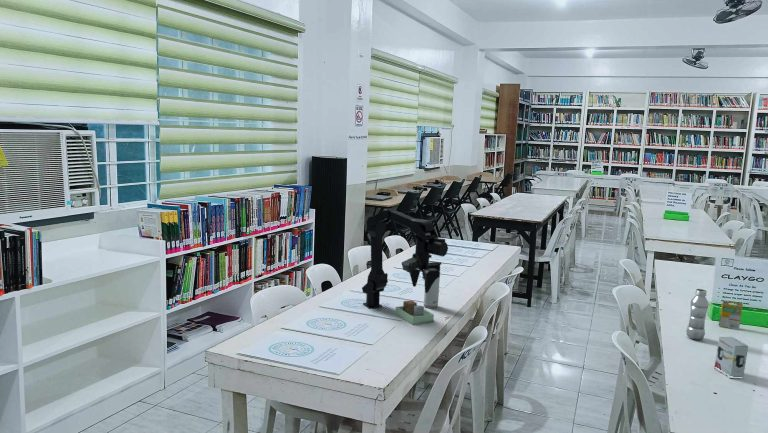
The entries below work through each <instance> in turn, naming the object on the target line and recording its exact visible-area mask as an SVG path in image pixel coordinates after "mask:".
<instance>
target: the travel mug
mask: <svg viewBox="0 0 768 433" xmlns="http://www.w3.org/2000/svg"><path fill="white" fill-rule="evenodd" d="M429 265H431V268H434V269H437V270H439V271H440V272H441V265H442V262H441V261H440V262H439V261H432V262H430V261H429ZM428 269H430V268H428ZM440 278H441V276H440V277H438V279H436V280H435V281H434V283H433V284H432V286H431V288H430V290H429V291H428V293H425V292H424V294H423V295H424V297H423V307H424V308H426V309H433V310H434V309H437V308H439V298H440V297H439V296H440V295H439V293H440Z"/></svg>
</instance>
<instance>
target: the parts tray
mask: <svg viewBox="0 0 768 433" xmlns="http://www.w3.org/2000/svg"><path fill="white" fill-rule="evenodd" d="M417 306H419V305H418V304H417ZM394 308H395V309H394V310H395V312H394V315H396V314H397V316H398V315H399V316H400V318H401V317H402V319H403V320H404V321H405V322H408V323H409V324H411V325H418V324H419V325H420V324H425V323H426V324H427V323H431V322H434V317H435V314H434V313H432V312H431V311H429V310H427V309H425V308H424V315H422V316H415V317H413V316H414V315H410V314H408V313H406V312H405V311H403V305H401V306H400V305H399V306H395V307H394ZM399 316H398V317H399Z"/></svg>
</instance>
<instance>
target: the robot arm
mask: <svg viewBox="0 0 768 433" xmlns="http://www.w3.org/2000/svg"><path fill="white" fill-rule="evenodd" d="M391 221H392V222H394V223H396V224H399V225H402V226H403V227H406V228H408V229H409V230H410V231H411V232H412V233H413V234H414V235H413V236H412V237H411V240H414V241H415V251H414V252H415V253H413V254H412V257H410V258H408V259H406V260H404V261H402V262H401V267H402V271H404V272H405V271H406V272H407V273H409V276H410V280H411V284H412V287H416V286H417V284H418V280H419V276H420V273H421V274H422V276H421V277H422V279H423V281H424V293H428V291H429V290H430V288H431V286H432V284H433V283H434V281H435V280H436V279H438V277H440V278H441V270H440V271H439V270H437V269H434V268H431V265H429V263H430V259H431V258H432V255H434V256H439V257H445V256H446V255H447V253H448V250H449V247H448V243H447V242H446V238H440V237H439V236H438V234H437V231H436V229H435V227H434V224H433V222H432V221H431V220H428V219H424V218H423V219H421V218H415V217H413V216H410V215H407V214H405V213H403V212H400V211H398V210H396V209H394V208H385V209H384V210H382V211H380V212H379V213H376V214H374V215H372V216H368V218H367V219H366V221H365V223H366V224H365V225H366V231H367V233H368V234H369V237H370V271H369V273H368V275H367V279H366V280H367V281H366V283H365V284H364V285H363V286H362V287H361V290H362V293H364V294H365V296H366V297H365V302H362V305H363V306H365V307H367V308H368V309H375V308H382V307H383V305H382V304H381V303H380V296H381V294H380V293H381V292H384V290H385V288H386V287H387V284H388V283H389V281H388V275H389V274H388V272H387V273H385V271H384V269H383V236H384V233H385V231H386V229H387V228H386V227H387V226H386V225H387V224H388V223H390V222H391ZM428 268H430V269H428Z"/></svg>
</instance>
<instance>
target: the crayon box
mask: <svg viewBox="0 0 768 433" xmlns="http://www.w3.org/2000/svg"><path fill="white" fill-rule="evenodd" d="M743 305H744V303H742V302H738V301H737V302H735V301H728V300H723V301H722V303H721V305H720V306H721V308H720V314H719V315H720V316H719V322H718V326H719V327H720V328H725V327H726V328H725V329H731V328H732V329H733V330H737V329H738V331H739V330H740V326H741V318H742V312H743Z"/></svg>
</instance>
